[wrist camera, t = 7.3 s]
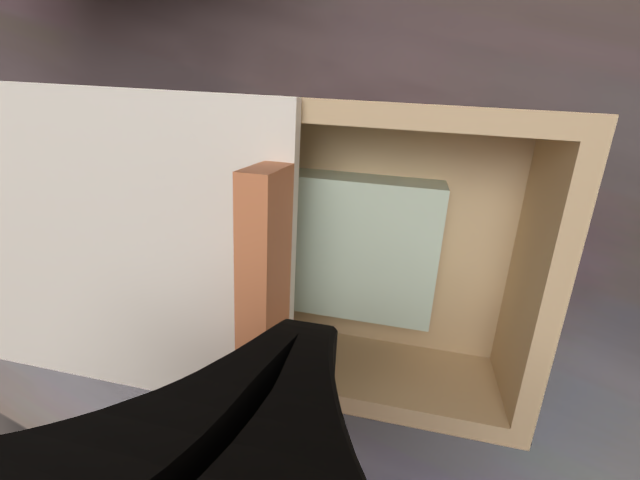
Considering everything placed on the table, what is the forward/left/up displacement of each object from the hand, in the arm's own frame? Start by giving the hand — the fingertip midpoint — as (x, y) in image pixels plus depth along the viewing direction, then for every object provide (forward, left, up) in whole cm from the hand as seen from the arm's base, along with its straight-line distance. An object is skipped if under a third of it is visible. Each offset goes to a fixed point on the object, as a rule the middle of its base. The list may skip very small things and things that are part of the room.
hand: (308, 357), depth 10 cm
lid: (0, +9, -5) cm, 10 cm away
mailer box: (0, 0, -10) cm, 10 cm away
